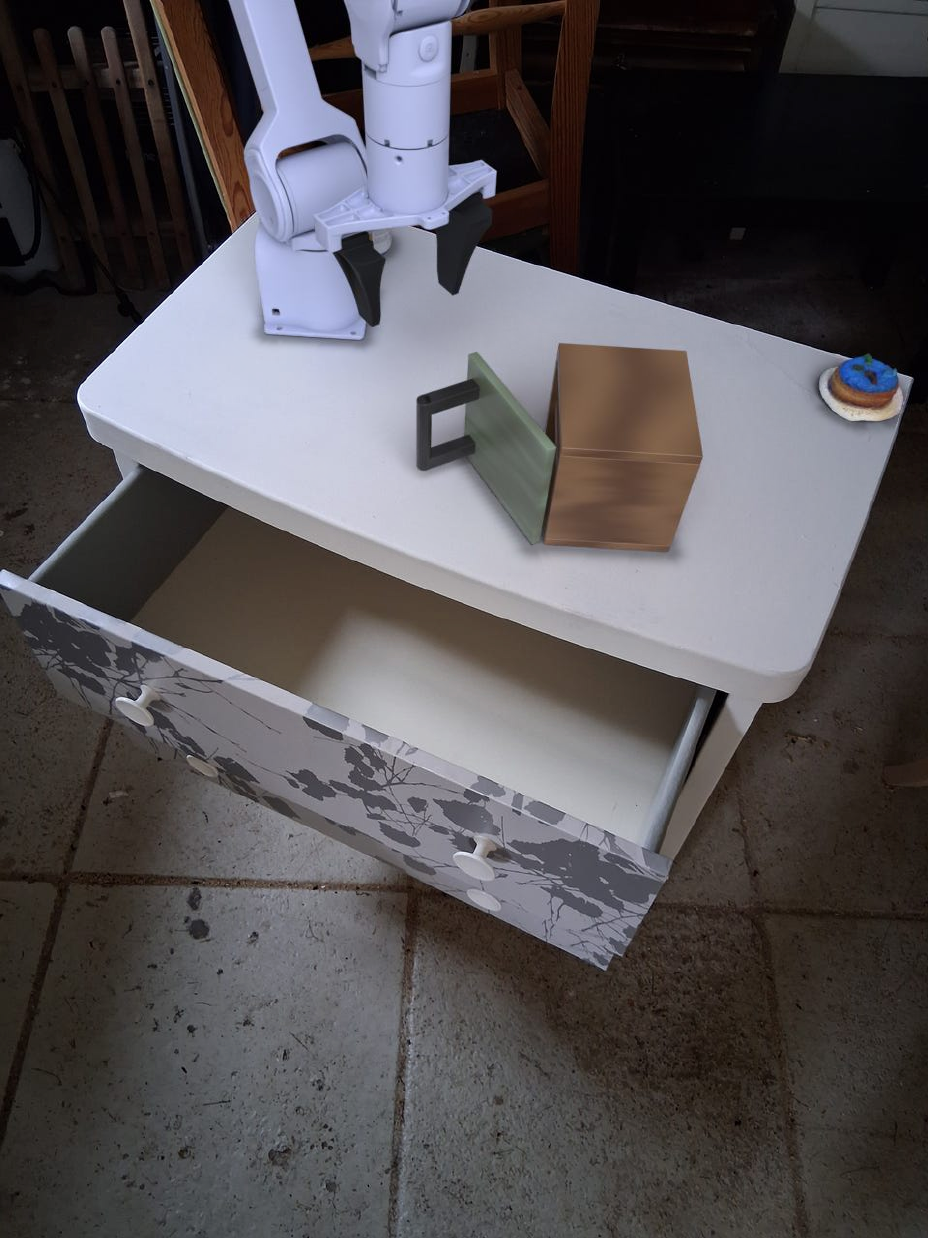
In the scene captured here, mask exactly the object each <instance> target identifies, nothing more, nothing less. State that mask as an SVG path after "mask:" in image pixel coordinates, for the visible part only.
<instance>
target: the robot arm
mask: <svg viewBox="0 0 928 1238" xmlns="http://www.w3.org/2000/svg"><path fill="white" fill-rule="evenodd" d="M470 1H471V0H343V2H344V5H345V8H346V10H347V15H348V19H349V23H350V33H351V34H350V35H351V45H353V49H354V50H353V51H354V54H355V56H356V57H357V58H358V59H359V60H361V76H362V96H363V113H364V114H363V115H364V132H365V134H364V135H365V144H364V141H363V138H362V136H361V133H360V130H359V127H358V125H357V121H356V119H354V118H353V117H352V116H350V115H349V114H347V113H345V112H344V111H342V110H340V109H339V108H336V107H335V106H333V105H331V104H330V103H328V102H327V101H325V100H324V99H323V97H322V94H321V90H320V87H319V83H318V81H317V76H316V73H315V69H314V66H313V63H312V59H311V56H310V53H309V48H308V45H307V42H306V38H305V35H304V30H303V28H302V24H301V21H300V17H299V13H298V9H297V6H296V3H295V0H228V3H229V6H230V10H231V13H232V16H233V19H234V22H235V25H236V28H237V32H238V34H239V38H240V41H241V44H242V47H243V52H244V54H245V57H246V60H247V63H248V66H249V70H250V74H251V77H252V79H253V82H254V86H255V88H256V92H257V96H258V99H259V101H260V104H261V108H262V111H263V113H262V116H261V117H260V120H259V121H258V123H257V125H256V126H255V128H254V130H253V131H252V133H251V135H250V136H249V138H248V140H247V142H246V144H245V146H244V149H243V156H244V157H243V159H244V163H245V167H246V170H247V175H248V179H249V190H250V195H251V199H252V203H253V206H254V209H255V212H256V215H257V216H258V219H259V221H260V222H258V224H257V228H256V232H255V241H254V260H255V261H254V264H255V271H256V272H255V273H256V278H257V284H258V290H259V296H260V300H261V301H260V302H261V303H260V304H261V308H262V314H263V320H264V325H263V332H264V333H265V334H267V335H278V336H293V337H307V338H308V337H309V338H324V339H325V338H326V339H340V340H341V339H342V340H354V341H355V340H358V341H359V340H363V339H364V338H365V333H366V328H367V325H368V326H369V327H371V328H374V327H377V326H380V323H381V315H382V310H381V309H382V308H381V284H382V283H381V282H382V277H383V272H384V268H385V265H386V261H387V258H386V257H384V256H383V255H382V254H380V253H379V252H378V251H377V250H375V249H374V242H373V241H371V240H370V239H369V234H370V233H373V232H376V231H378V230H381V229H388V228H391V229H395V228H404V227H411V226H413V227H414V226H421V227H422V228H423V229H425V230H429V231H430V230H435V237H436V238H435V239H436V275H437V282H438V285H440V287H442V288H443V289H444V290H445V291H447V292H448V293H449V294H450V295H451V296H452V297H453V296H455V295H458V294H459V293H460V290H461V287H462V284H463V281H464V278H465V274H466V272H467V268H468V266H469V264H470V261H471V258H472V256H473V253H475V250H476V248H477V246H478V244H479V243H480V241H481V239H482V238H483V236H484V235H485V233H486V232H487V230H488V229H489V228H490V227H491V226H492V223H493V210H492V208H491V207H490V206H489V205H487V204H486V203H484V199H486V200H487V199H490V198H492V197H495V196H496V186H497V172H498V171H497V170H496V169H494V168H493V167H492V166H490V165H489V164H488V163H486V162H485V161H484V160H483V159H480V160H479V159H478V160H475V161H473V162H468V163H461V164H453V165H452V164H451V165H449V163H450V161H449V159H450V124H451V123H450V122H451V121H450V119H451V79H452V77H451V73H452V33H453V22H452V21H451V20H452V19H453V18H457V17H460V16H462V15H463V14H464V12H465V11H466V9H467V8H468V7H469V4H470ZM319 141H321V142H324V143H326V144H324V145H320V146H317V147H313V148H310V149H307V150H303V151H299V152H296V153H292V154H289V155H286V156H282V157H279V155H280V153H281V152H282V151H284V150H288V149H291V148H295V147H298V146H302V145H305V144H309V143H313V142H319ZM278 157H279V158H278Z"/></svg>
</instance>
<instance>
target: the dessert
mask: <svg viewBox="0 0 928 1238" xmlns="http://www.w3.org/2000/svg"><path fill="white" fill-rule="evenodd" d="M818 388H819V391H820V395H821V398H822V399H823V400H824V402H825V403H826V404H827V405H828V406H829V408H830V409H831V410H832V412H834V413H836V414H837V415H838V416H840V417H841V418H843V419H846V420H847V421H850V422H859V421H867V422H878V421H879V422H880V421H884V420H888V419H891V418H893V417H895V416H897V415H899V414H900V413H901V410H902V407H903V403H904V396H903V392H902V391H903V390H902V389H901V387H900V380H899V376H898V369H897V368H896V367H895V368H894V369H893V368H892V367H890V366H889V365H888V364H885V363H884V362H882V361H880V360H877V359H874V358H873V357H872V355H871V354H870V353H865V354H864V355H862V356H857V357H853V358H849V359H846V360H845V361H842V363H841V364H839V365H837V366H835V367H830V368H828V369H826V370H825V371H823V372H822V374H821V375H820V377H819V380H818Z"/></svg>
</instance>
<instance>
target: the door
mask: <svg viewBox="0 0 928 1238" xmlns="http://www.w3.org/2000/svg"><path fill="white" fill-rule="evenodd" d="M467 355H468V356H467V372H466V373H467V374H466V380H463V381H460V382H457V383H454V384H451V385H448V386H444V387H441V388H439V389H436V390H433V391H429V392H426V393H423V394H420V395H418V396H417V397H416V400H415V402H416V403H415V405H416V406H415V407H416V408H415V410H416V411H415V412H416V413H415V414H416V415H415V416H416V418H415V419H416V420H415V422H416V424H415V426H416V429H415V430H416V431H415V432H416V433H415V434H416V435H415V436H416V437H415V440H416V444H415V445H416V447H415V448H416V449H415V450H416V451H415V452H416V455H415V456H416V457H415V458H416V459H415V460H416V464H415V465H416V468H417V469H418V470H419V471H422V472H426V471H429V470H432V469H435V468H437V467H440V466H443V465H446V464H449V463H452V462H455V461H458V460H460V459H462V458H466V459H468V461H469V462H470V463H471V465H472V466H473V467H474V469H475V471H476V472H477V473H478V474H479V476H480V477H481V478H482V480H483V481H484V483H485V484H486V485H487V486H488V488H489V490H491V492H492V494H494V496H495V497H496V499H497V500H498V501H499V503H500V504H501V505H502V506H503V508H504V509H505V511H506V512H507V513H508V515H509V516H510V517H511V519H512V520H513V521H514V523H515V524H516V526H517V527H518V528H519V530H520V531H521V533H522V534H523V535H524V536H525V538H526V539H527V540H528V541H529V544H530V545H534V544H537V543H539V542H540V541H541V537H542V532H543V527H544V515H545V509H546V503H547V497H548V491H549V486H550V480H551V474H552V468H553V463H554V457H555V451H556V446H555V445H554V444H553V443H552V441H551V440H550V439H549V438H548V437H547V435H546V434H545V431H544V430H543V429H542V428H541V427H540V426H539V425H538V423H537V422H536V421H535V420H534V418H533V417H532V416H531V415H530V413H529V412H528V411H527V410H526V408H525V407H524V406H523V405H522V404H521V403H520V401H519V400H518V399H517V398H516V396H514V394H513V393H512V391H510V389H509V388H508V387H507V386H506V384H504V382H503V381H502V380H501V379H500V377H499V376H498V375H497V374H496V373H495V371H494V370H493V369H492V367H490V365H489V364H488V363H487V362H486V360H485V359H484V358H483V356H481V355H480V353H479V352H478V351H474V352H471V353H468V354H467ZM463 405H465V407H464V408H465V409H464V422H463V423H464V424H463V425H464V427H463V435H462V436H460V437H457V438H454V439H451V440H449V441H446V442H443V443H440V444H437V445H434V446H432V441H433V440H432V439H433V437H432V435H433V415H436V414H439V413H441V412H444V411H448V410H450V409H454V408H457V407H460V406H463Z"/></svg>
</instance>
